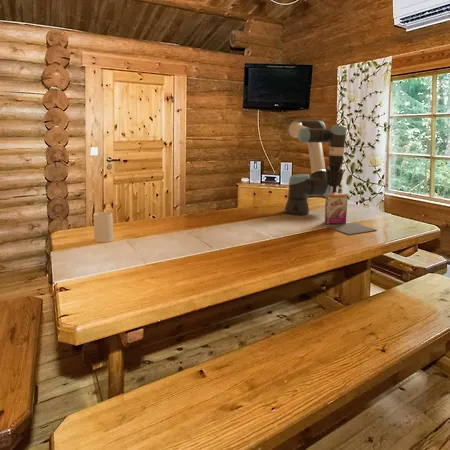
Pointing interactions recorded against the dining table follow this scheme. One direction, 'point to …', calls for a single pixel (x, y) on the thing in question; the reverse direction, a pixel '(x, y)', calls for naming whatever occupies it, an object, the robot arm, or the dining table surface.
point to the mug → (103, 227)
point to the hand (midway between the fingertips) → (332, 198)
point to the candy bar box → (336, 208)
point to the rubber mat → (351, 228)
